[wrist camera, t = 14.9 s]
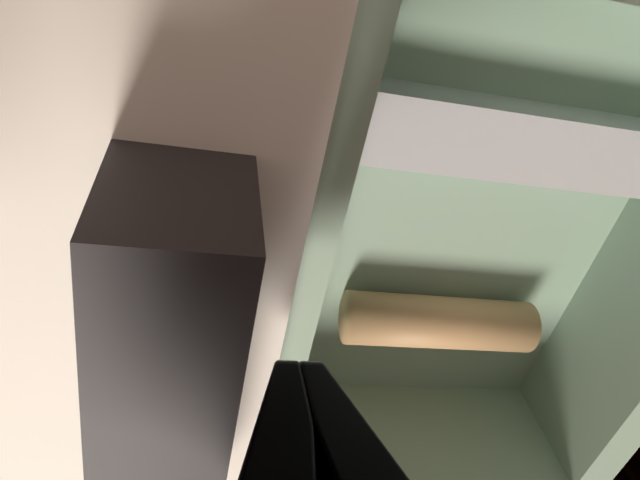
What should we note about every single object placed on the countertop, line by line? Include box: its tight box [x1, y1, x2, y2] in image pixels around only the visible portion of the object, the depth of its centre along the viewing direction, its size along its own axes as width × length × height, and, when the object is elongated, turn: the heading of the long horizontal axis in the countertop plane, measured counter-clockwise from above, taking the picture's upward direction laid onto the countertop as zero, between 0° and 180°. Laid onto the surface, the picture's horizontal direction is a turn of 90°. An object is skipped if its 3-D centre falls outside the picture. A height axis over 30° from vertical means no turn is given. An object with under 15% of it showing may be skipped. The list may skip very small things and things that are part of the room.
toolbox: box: [279, 0, 640, 480], centre depth 15 cm, size 12×16×5 cm
